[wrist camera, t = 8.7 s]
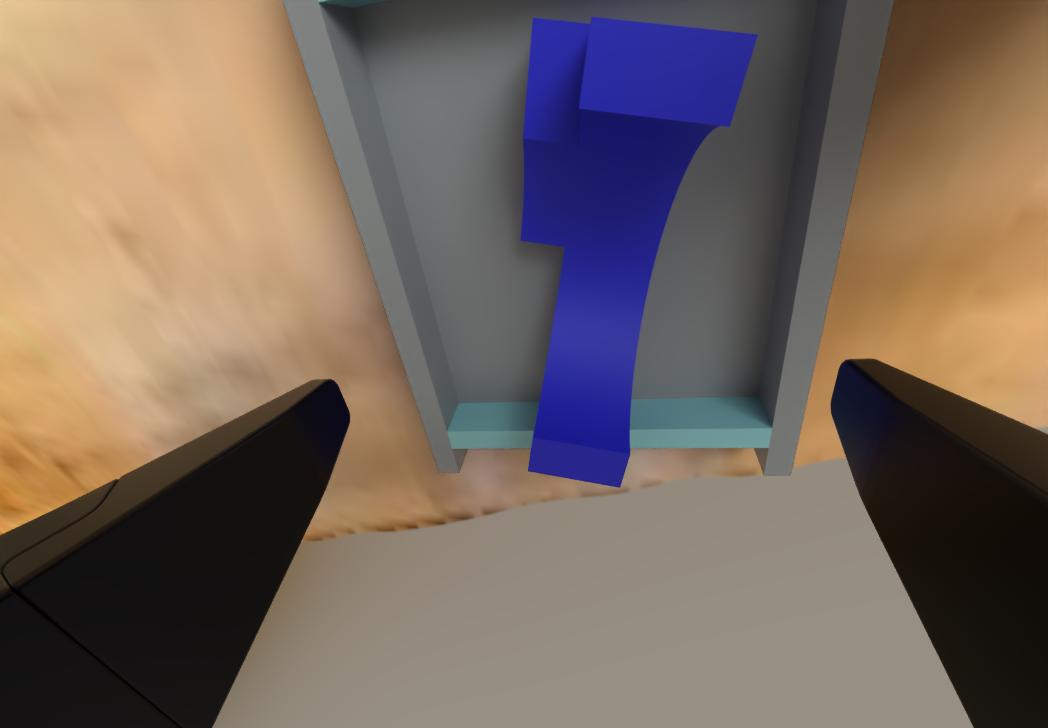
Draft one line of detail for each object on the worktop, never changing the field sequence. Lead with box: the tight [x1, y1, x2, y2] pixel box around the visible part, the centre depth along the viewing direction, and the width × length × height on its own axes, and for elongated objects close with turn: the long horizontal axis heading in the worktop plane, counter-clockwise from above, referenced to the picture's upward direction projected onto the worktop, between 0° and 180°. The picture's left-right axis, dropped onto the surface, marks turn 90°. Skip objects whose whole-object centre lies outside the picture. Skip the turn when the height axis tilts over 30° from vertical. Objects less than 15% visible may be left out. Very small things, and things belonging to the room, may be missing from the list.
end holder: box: [283, 0, 894, 476], centre depth 16 cm, size 15×20×3 cm
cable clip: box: [521, 17, 758, 488], centre depth 14 cm, size 12×4×6 cm, turn 175°
